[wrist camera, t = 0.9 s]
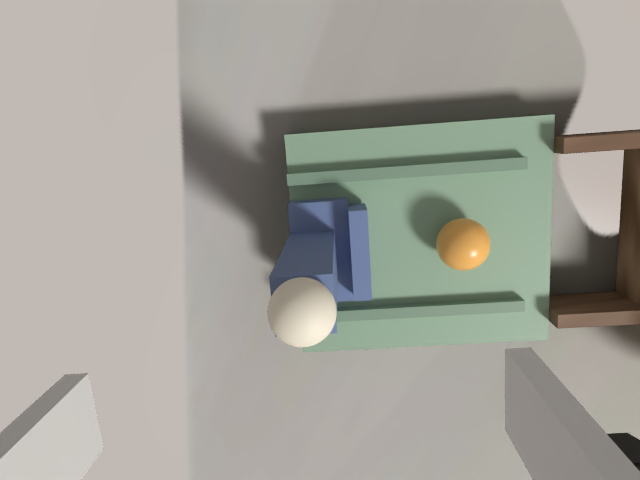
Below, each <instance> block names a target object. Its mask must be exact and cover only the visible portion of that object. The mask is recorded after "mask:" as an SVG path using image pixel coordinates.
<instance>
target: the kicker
mask: <svg viewBox="0 0 640 480" xmlns="http://www.w3.org/2000/svg"><path fill="white" fill-rule="evenodd" d="M287 207H288V218H289V229H290V235H289V237H288V239H287V241H286V243H285V245H284V247H283V250H282V252H281V254H280V256H279V258H278V260H277V262H276V265H275V267H274V269H273V271H272V273H271V275H270V277H269V279H270V289H271V298H270V301H269V304H268V311H267V313H268V321H269V324H270V327H271V329H272V330H273V332H274V333H275V337H278V338H279V339H280V340H282V341H283V342H285V343H286V344H289V345H291V346H295V347H309V346H313V345H315V344H317V343H319V342H321V341H322V340H324V339H325V338H326V337H327V336H328V335H329V334H333V333H337V302H339V301H367V300H372V287H371V268H370V249H369V231H368V212H367V208H366V205H365V203H359V204H348V200H347V197H342V198H327V199H312V200H298V201H289V202H288V204H287ZM353 296H354V297H353Z"/></svg>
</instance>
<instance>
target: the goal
mask: <svg viewBox="0 0 640 480" xmlns="http://www.w3.org/2000/svg"><path fill="white" fill-rule="evenodd" d="M610 150H624V162H623V178H622V179H623V180H622V195H621V211H620V212H621V213H620V228H619V244H618V261H617V277H616V291H611V292H593V293H576V294H558V295H549V321H550V322H551V323H552V324H553V325H554V326H555V327H557V328H577V327H596V326H615V325H634V324H640V130H627V131H613V132H600V133H586V134H573V135H559V136H554V153H561V154H568V153H582V152H595V151H610Z"/></svg>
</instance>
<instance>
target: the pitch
mask: <svg viewBox="0 0 640 480" xmlns="http://www.w3.org/2000/svg"><path fill="white" fill-rule="evenodd" d="M554 125H555V114H553V115H538V116H525V117H512V118H499V119H485V120H472V121H459V122H446V123H433V124H419V125H406V126H393V127H380V128H366V129H353V130H340V131H327V132H313V133H300V134H287V135H284V139H285V150H286V162H287V174H286V177H287V186H289V196H290V201H298V200H312V199H327V198H342V197H347V200H348V204H359V203H365V205H366V208H367V212H368V231H369V249H370V268H371V287H372V300H367V301H339V302H337V333H333V334H329V335H328V336H327V337H326V338H325V339H324V340H322V341H321V342H319V343H317V344H315V345H313V346H309V347H303V352H317V351H337V350H356V349H375V348H395V347H414V346H433V345H452V344H472V343H491V342H510V341H530V340H548V326H549V293H550V259H551V225H552V192H553V158H554ZM460 218H467V219H472V220H474V221H477V222H478V223H480V224H481V225H482V226H483V227H484V228H485V229H486V231H487V232H488V234H489V237H490V242H491V247H490V252H489V255H488V257H487V258H486V260H485V261H484V262H483V263H482V264H481V265H480V266H478V267H476V268H474V269H471V270H466V271H461V270H456V269H453V268H450V267H449V266H447V265H446V264H445V263H444V262H443V261H442V260H441V259H440V257H439V255H438V253H437V249H436V240H437V236H438V234H439V232H440V230H441V229H442V227H443V226H444V225H446V224H447V223H448V222H450V221H452V220H455V219H460ZM353 297H354V296H353Z"/></svg>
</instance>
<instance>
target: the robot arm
mask: <svg viewBox="0 0 640 480" xmlns="http://www.w3.org/2000/svg"><path fill="white" fill-rule="evenodd" d="M505 430H506V432H507V434H508V435H509V437H510V439H511V441H512V443H513V444H514V446H515V448H516V450H517V452H518V453H519V455H520V457H521V459H522V461H523V462H524V464H525V466H526V468H527V470H528V471H529V473H530V475H531V477H532V479H533V480H640V440H639V439H637V438H635V437H634V436H632V435H630V434H628V433H615V434H606V433H605V431H604V430H603V429H602V428H601V427H600V426H599V425H598V423H597V422H596V421H595V420H594V419H593V418H592V417H591V416H590V414H589V413H588V412H587V411H586V410H585V409H584V408H583V406H582V405H581V404H580V403H579V402H578V401H577V400H576V398H575V397H574V396H573V395H572V394H571V393H570V392H569V391H568V389H567V388H566V387H565V386H564V385H563V384H562V383H561V381H560V380H559V379H558V378H557V377H556V376H555V375H554V374H553V372H552V371H551V370H550V369H549V368H548V367H547V366H546V364H545V363H544V362H543V361H542V360H541V359H540V358H539V356H538V355H537V354H536V353H535V352H534V351H533V350H532V349H531V348H515V349H505ZM102 450H103V444H102V439H101V434H100V429H99V424H98V419H97V414H96V409H95V404H94V399H93V394H92V389H91V384H90V379H89V374H88V373H86V374H70V375H69V374H68V375H64V376H63V377H62V378H61V379H60V380H59V381H58V382H57V383H55V384H54V385H53V386H52V387H51V388H50V389H49V390H48V391H46V392H45V393H44V394H43V395H42V396H41V397H40V398H39V399H38V400H36V401H35V402H34V403H33V404H32V405H31V406H30V407H29V408H28V409H26V410H25V411H24V412H23V413H22V414H21V415H20V416H19V417H18V418H16V419H15V420H14V421H13V422H12V423H11V424H10V425H9V426H7V427H6V428H5V429H4V430H3V431H2V432H1V433H0V480H81V479H82V478H83V476H84V475H85V474H86V472H87V471H88V470H89V468H90V467H91V465H92V464H93V463H94V462H95V460H96V459H97V457H98V456H99V455H100V453H101V452H102Z"/></svg>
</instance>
